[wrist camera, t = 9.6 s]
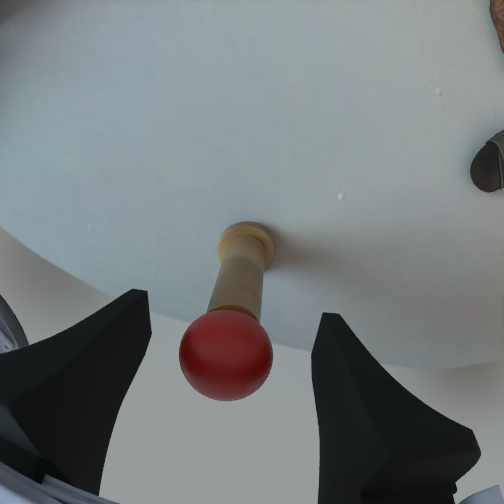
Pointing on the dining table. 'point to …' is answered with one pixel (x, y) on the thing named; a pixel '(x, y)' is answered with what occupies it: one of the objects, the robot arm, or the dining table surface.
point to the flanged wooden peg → (242, 269)
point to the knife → (489, 165)
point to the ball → (225, 355)
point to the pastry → (498, 18)
